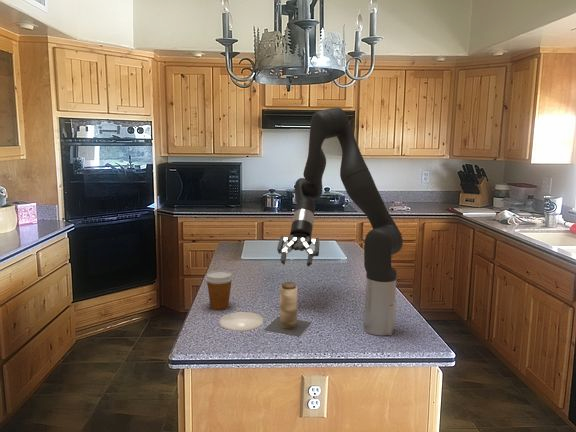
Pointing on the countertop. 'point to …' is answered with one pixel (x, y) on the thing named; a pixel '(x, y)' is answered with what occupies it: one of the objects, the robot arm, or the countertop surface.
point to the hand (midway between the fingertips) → (295, 264)
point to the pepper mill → (288, 305)
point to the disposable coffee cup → (219, 289)
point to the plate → (241, 321)
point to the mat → (296, 331)
